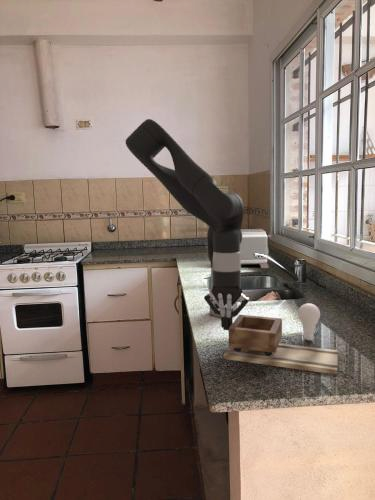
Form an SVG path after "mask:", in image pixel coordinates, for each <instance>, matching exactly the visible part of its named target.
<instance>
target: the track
mask: <svg viewBox="0 0 375 500" xmlns="http://www.w3.org/2000/svg"><path fill="white" fill-rule="evenodd" d="M338 352H339V350H338V349H329V348H323V347H322V348H321V347H313V346H303V345H296V344H290V343H289V344H288V343H287V344H286V343H280V342H279V344H278V347H277V350H276V352H275V353H273V352H272V355H270V356H267V355H265V353H264V351H257V350H249V349H241V351H240V352H236V351H235V350H234V348H233V347H229V346H227V349H225V351H224V353H223V360H229V361H236V362H244V363H252V364H257V365H258V364H260V365H264V366H265V365H266V366H272V367H281V368H285V369H286V368H288V369H292V370H293V369H294V370H302V371H308V372H316V373H322V374H323V373H324V374H329V375H330V374H331V375H335V376H337V375H338V362H339V361H338V354H339V353H338Z"/></svg>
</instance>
